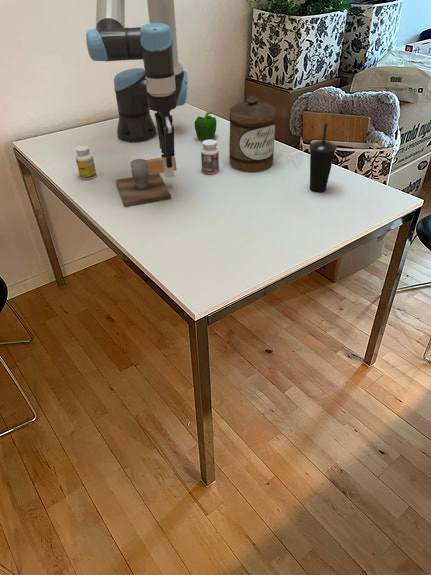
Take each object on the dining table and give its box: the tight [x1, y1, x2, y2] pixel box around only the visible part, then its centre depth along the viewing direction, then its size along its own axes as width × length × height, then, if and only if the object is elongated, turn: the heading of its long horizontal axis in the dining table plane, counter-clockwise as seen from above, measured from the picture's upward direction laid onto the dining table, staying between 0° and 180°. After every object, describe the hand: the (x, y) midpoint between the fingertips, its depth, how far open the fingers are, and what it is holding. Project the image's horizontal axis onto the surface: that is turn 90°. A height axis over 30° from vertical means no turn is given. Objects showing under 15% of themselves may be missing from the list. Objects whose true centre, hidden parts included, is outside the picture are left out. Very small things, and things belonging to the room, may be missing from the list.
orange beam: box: [129, 156, 177, 179], centre depth 138 cm, size 14×5×4 cm, turn 108°
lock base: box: [115, 173, 172, 208], centre depth 140 cm, size 16×14×5 cm
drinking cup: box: [309, 123, 338, 194], centre depth 133 cm, size 8×8×20 cm
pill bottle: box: [200, 139, 220, 175], centre depth 148 cm, size 6×6×10 cm
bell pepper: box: [194, 110, 218, 142], centre depth 170 cm, size 8×8×10 cm
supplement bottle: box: [75, 145, 97, 180], centre depth 148 cm, size 5×5×10 cm
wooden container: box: [228, 95, 277, 173], centre depth 148 cm, size 15×15×22 cm
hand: (169, 176), depth 134 cm, fingers closed
